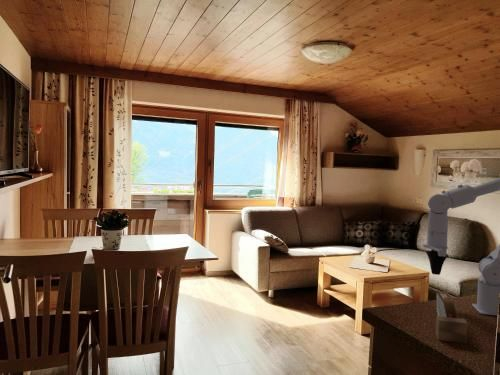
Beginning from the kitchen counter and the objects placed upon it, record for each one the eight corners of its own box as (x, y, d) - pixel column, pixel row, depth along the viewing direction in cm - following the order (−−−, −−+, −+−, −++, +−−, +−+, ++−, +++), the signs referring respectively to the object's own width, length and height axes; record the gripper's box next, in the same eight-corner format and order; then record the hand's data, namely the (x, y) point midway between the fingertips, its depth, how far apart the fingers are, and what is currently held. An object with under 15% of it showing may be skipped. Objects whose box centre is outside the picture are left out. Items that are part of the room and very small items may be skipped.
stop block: (462, 337, 95) (463, 318, 95) (466, 343, 92) (467, 323, 92) (435, 334, 97) (436, 315, 96) (438, 340, 94) (439, 320, 93)
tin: (457, 337, 95) (459, 304, 95) (444, 335, 96) (445, 303, 96) (445, 315, 110) (446, 287, 109) (433, 314, 111) (434, 286, 110)
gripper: (419, 227, 127) (417, 267, 128) (429, 234, 113) (427, 279, 114) (441, 229, 126) (440, 269, 126) (454, 236, 112) (452, 281, 112)
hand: (435, 274), depth 120 cm, fingers closed
